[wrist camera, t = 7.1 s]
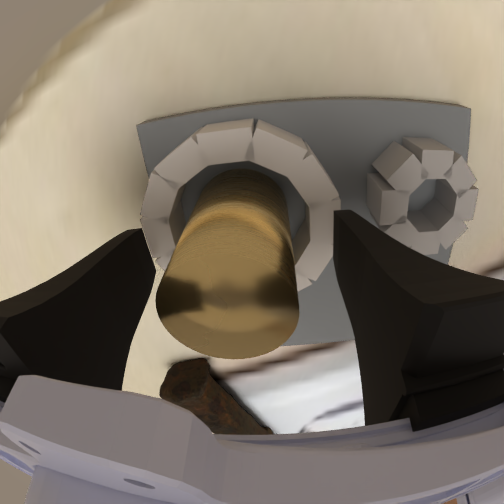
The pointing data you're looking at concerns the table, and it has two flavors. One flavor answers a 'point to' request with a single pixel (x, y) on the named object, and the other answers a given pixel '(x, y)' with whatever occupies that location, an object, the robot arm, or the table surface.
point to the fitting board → (343, 158)
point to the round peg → (233, 270)
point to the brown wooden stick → (207, 399)
